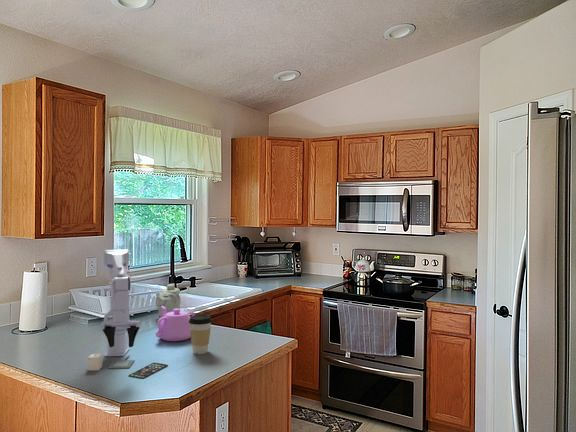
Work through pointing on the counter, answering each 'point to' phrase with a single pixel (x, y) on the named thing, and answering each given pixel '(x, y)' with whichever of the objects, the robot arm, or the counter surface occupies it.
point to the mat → (121, 364)
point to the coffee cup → (200, 333)
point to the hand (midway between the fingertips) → (121, 346)
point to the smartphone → (148, 370)
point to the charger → (94, 361)
